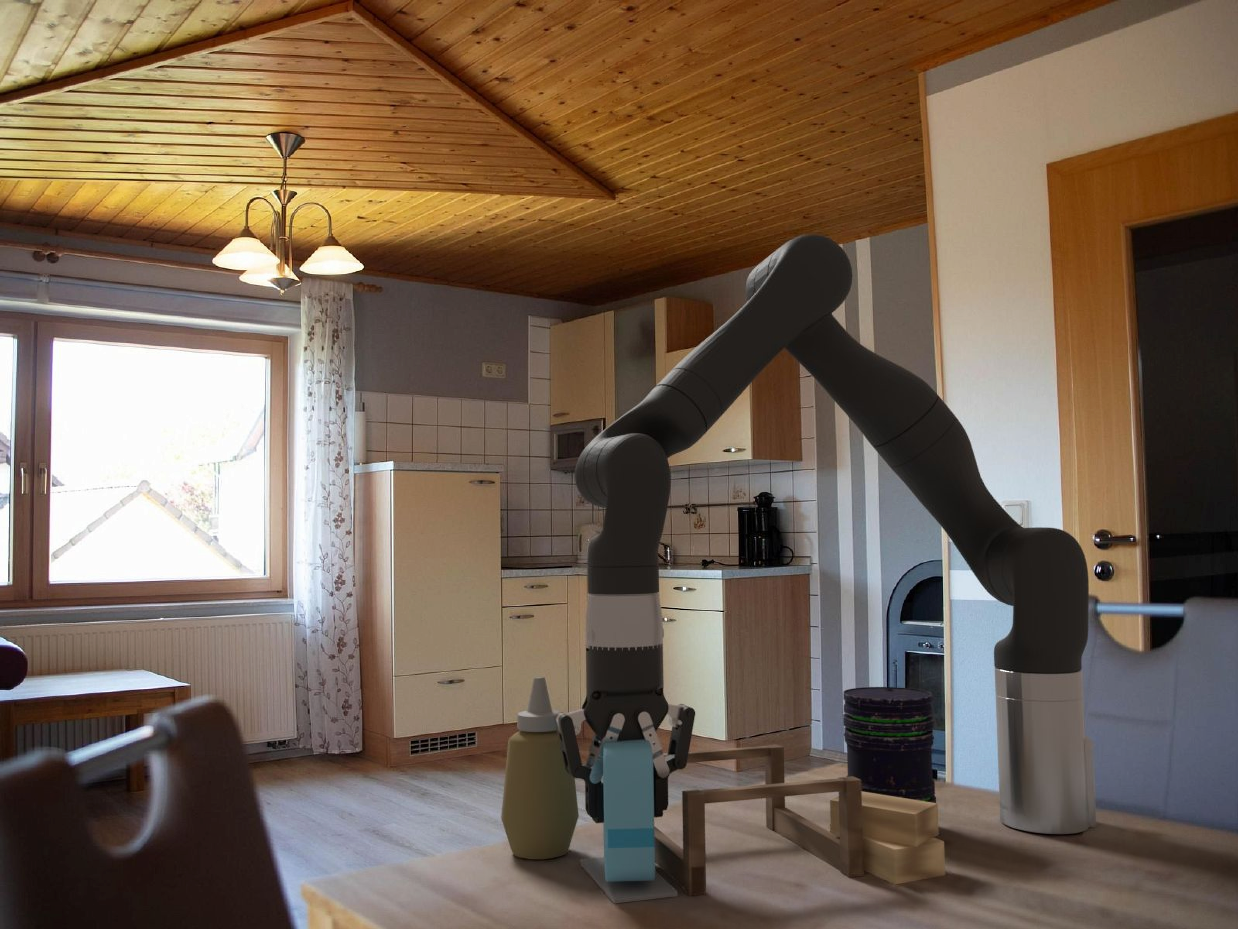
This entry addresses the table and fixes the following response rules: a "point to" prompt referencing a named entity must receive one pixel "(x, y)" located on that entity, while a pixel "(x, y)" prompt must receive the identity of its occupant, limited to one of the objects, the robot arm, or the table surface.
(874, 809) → the offcut upper
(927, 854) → the offcut lower
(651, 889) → the mat
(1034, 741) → the robot arm
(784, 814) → the frame
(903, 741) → the dark navy cylinder
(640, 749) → the blue rounded block
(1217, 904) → the table surface
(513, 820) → the squeeze bottle
